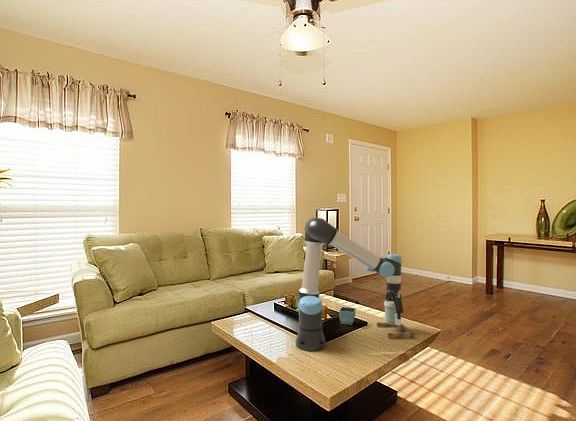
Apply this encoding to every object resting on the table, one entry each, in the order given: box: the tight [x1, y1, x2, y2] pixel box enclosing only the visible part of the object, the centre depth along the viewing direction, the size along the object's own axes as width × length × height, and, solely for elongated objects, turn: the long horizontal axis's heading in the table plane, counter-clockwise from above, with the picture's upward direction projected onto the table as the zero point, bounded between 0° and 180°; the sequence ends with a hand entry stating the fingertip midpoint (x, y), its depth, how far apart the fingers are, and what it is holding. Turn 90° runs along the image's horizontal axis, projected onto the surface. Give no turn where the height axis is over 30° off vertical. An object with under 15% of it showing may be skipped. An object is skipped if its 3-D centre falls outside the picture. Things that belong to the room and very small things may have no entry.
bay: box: [376, 321, 415, 340], centre depth 178 cm, size 14×18×2 cm
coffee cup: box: [383, 299, 396, 325], centre depth 181 cm, size 8×8×12 cm
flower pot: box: [338, 306, 357, 326], centre depth 190 cm, size 9×9×9 cm
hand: (393, 320), depth 178 cm, fingers open, 13 cm apart
